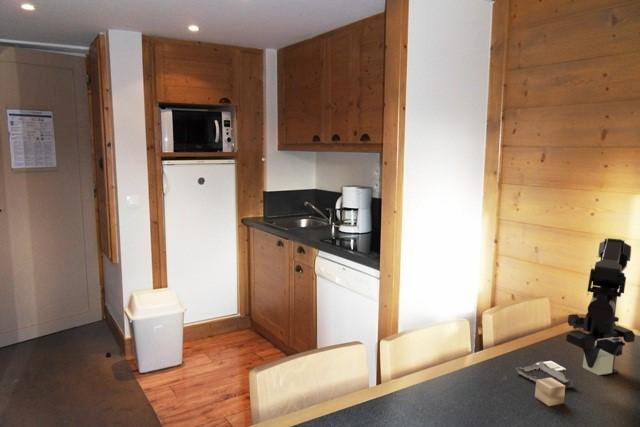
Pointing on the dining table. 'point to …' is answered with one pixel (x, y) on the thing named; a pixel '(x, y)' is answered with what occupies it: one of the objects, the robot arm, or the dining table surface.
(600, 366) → the sage block
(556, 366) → the card
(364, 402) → the dining table surface
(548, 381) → the honey block
